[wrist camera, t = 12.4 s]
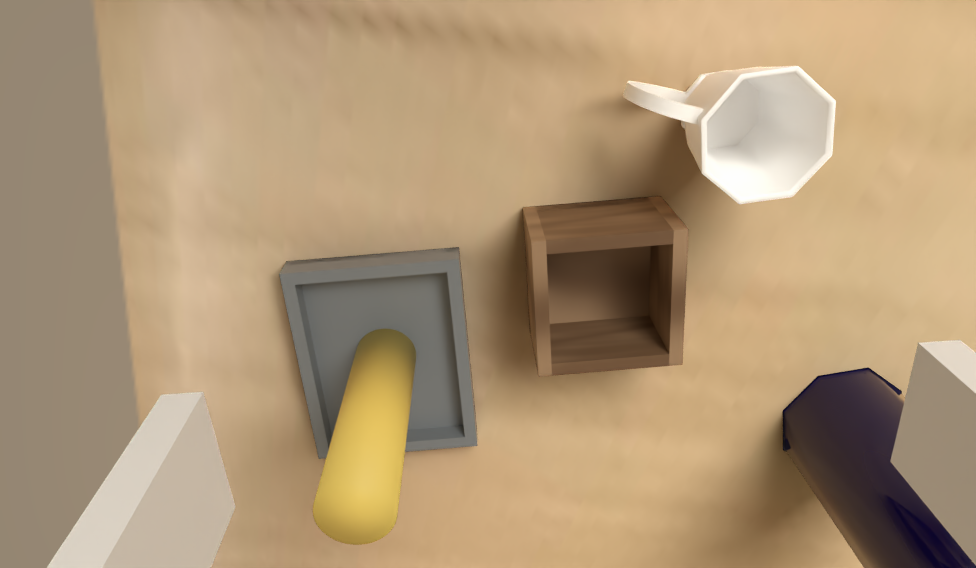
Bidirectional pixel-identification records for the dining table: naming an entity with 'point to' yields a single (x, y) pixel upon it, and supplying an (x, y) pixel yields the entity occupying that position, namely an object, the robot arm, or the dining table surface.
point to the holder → (605, 285)
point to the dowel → (368, 442)
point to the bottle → (864, 471)
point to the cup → (750, 127)
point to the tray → (385, 305)
